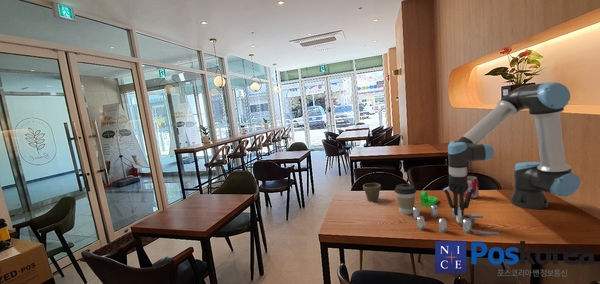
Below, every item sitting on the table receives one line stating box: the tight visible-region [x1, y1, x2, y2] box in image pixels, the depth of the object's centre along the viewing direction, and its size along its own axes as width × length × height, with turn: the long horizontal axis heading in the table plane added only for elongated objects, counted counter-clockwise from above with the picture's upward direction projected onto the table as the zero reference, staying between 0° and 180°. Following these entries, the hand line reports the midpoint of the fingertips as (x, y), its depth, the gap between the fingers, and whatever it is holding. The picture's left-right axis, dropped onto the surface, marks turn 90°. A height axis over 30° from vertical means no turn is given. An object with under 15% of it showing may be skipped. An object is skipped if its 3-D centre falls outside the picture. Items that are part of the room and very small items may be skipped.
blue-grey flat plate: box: [470, 214, 501, 236], centre depth 122 cm, size 10×20×1 cm, turn 165°
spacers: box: [412, 204, 472, 235], centre depth 126 cm, size 22×19×6 cm
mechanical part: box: [420, 190, 439, 208], centre depth 152 cm, size 12×6×8 cm, turn 134°
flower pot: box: [362, 182, 382, 202], centre depth 166 cm, size 12×11×10 cm
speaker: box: [459, 213, 476, 228], centre depth 123 cm, size 5×5×4 cm
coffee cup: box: [394, 183, 417, 215], centre depth 142 cm, size 11×11×15 cm
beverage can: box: [464, 175, 480, 199], centre depth 155 cm, size 8×8×12 cm
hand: (459, 221), depth 124 cm, fingers closed
